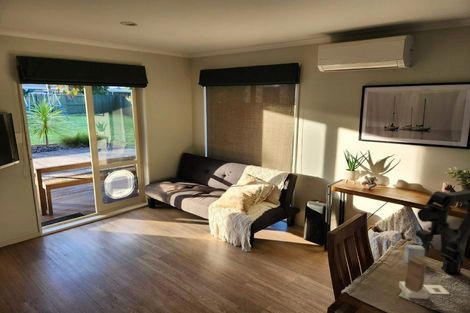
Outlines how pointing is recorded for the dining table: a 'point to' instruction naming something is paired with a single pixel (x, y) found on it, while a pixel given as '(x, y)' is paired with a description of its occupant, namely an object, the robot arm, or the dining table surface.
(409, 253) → the medicine box
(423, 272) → the brown tall block
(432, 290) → the card
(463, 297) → the dining table surface
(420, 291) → the base block
